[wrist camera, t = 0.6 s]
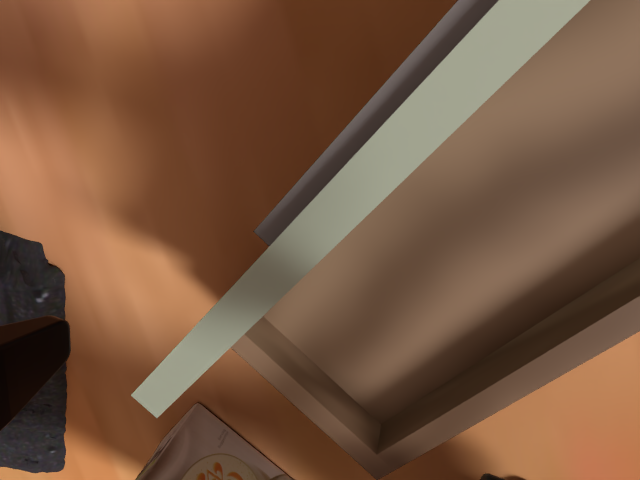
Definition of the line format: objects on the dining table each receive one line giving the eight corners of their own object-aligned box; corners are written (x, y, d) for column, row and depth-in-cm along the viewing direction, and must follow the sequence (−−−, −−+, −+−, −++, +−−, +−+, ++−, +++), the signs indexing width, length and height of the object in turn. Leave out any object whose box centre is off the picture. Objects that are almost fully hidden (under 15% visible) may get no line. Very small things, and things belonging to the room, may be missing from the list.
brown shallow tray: (965, 64, 13) (1120, 58, 10) (383, 432, 24) (377, 480, 21) (713, -222, 12) (803, -319, 9) (231, 292, 23) (202, 321, 20)
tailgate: (726, -175, 12) (1232, -620, 4) (249, 305, 21) (156, 418, 14) (684, -223, 11) (1129, -763, 4) (224, 282, 21) (117, 383, 14)
